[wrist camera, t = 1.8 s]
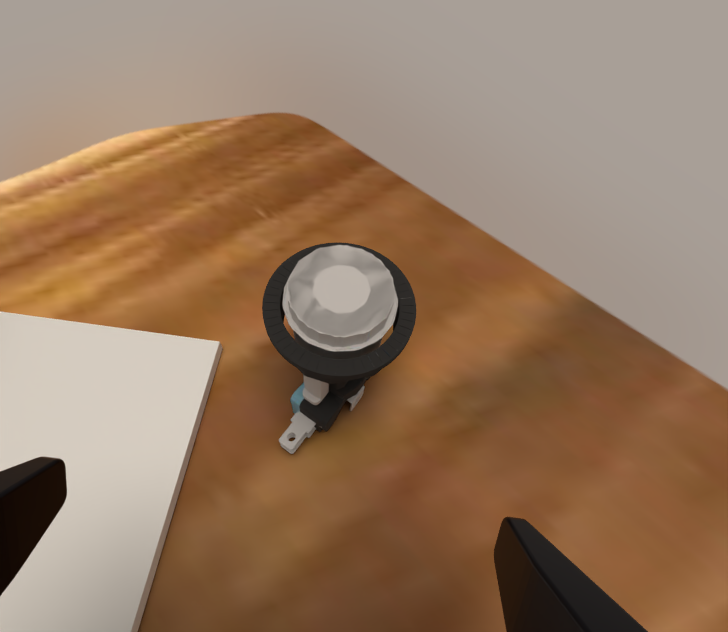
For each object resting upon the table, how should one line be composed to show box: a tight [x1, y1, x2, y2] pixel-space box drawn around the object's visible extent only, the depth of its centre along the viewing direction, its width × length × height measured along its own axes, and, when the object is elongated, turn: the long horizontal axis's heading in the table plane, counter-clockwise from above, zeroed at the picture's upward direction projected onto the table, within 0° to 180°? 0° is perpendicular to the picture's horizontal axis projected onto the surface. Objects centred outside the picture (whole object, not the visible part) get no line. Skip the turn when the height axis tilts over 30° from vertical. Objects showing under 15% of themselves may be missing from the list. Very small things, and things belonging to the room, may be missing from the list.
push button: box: [262, 243, 416, 454], centre depth 18 cm, size 7×5×10 cm
